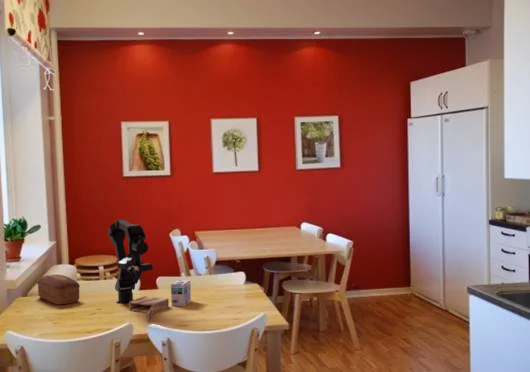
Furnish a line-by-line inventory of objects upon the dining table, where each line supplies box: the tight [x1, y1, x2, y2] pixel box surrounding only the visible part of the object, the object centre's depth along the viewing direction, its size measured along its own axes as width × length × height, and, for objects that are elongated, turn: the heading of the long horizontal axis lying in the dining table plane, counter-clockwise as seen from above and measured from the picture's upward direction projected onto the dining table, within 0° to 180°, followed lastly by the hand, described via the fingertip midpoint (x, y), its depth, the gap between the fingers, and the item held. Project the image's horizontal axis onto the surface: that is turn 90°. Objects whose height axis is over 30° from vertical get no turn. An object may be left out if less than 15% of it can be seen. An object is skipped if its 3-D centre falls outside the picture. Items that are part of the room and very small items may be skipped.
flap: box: [145, 306, 154, 321], centre depth 272 cm, size 14×1×3 cm, turn 0°
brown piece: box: [128, 295, 170, 314], centre depth 288 cm, size 14×12×4 cm
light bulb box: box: [170, 279, 192, 307], centre depth 297 cm, size 11×7×11 cm, turn 168°
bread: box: [36, 274, 81, 305], centre depth 310 cm, size 14×28×12 cm, turn 42°
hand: (135, 283), depth 289 cm, fingers closed
